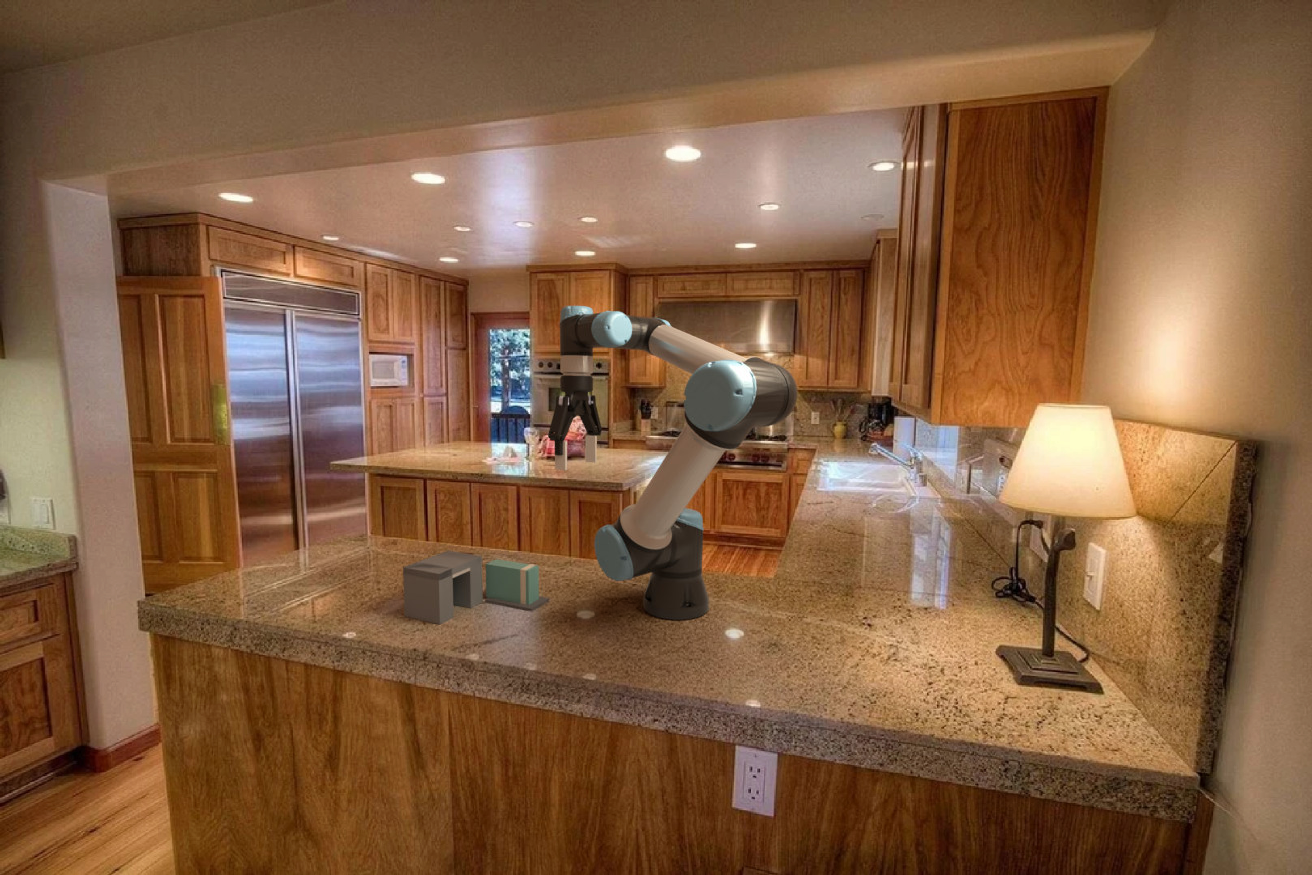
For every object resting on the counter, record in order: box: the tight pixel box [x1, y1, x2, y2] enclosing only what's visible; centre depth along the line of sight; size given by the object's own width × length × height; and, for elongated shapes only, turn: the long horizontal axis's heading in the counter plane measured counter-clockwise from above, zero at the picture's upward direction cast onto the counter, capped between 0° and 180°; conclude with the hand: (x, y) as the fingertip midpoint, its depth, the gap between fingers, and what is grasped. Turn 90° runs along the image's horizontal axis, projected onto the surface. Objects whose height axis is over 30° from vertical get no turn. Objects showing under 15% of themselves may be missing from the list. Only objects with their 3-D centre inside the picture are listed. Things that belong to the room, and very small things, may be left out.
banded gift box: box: [485, 558, 540, 605], centre depth 134 cm, size 12×4×8 cm, turn 68°
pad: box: [484, 595, 550, 612], centre depth 134 cm, size 13×7×1 cm, turn 67°
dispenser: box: [402, 550, 484, 625], centre depth 128 cm, size 10×14×11 cm
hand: (576, 465), depth 134 cm, fingers open, 13 cm apart
